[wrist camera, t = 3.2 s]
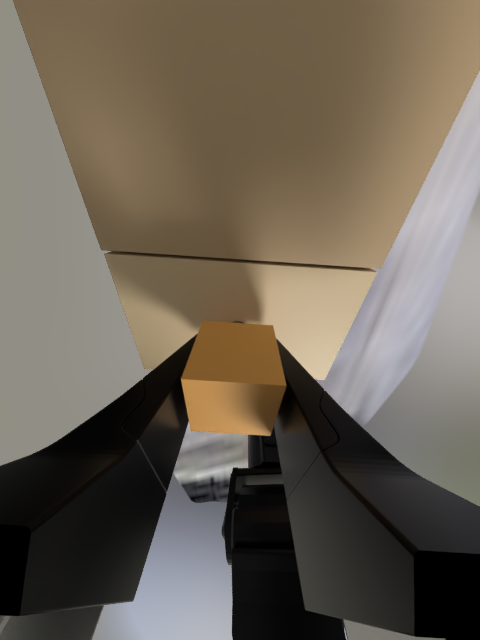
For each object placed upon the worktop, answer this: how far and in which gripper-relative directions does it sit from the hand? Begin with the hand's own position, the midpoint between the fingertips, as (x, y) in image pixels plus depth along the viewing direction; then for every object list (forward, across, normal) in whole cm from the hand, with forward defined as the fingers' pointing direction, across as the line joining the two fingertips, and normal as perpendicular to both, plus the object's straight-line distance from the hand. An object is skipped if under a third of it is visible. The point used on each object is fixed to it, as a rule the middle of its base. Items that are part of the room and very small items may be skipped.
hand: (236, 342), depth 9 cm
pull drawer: (+2, 0, 0) cm, 2 cm away
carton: (+7, 0, -4) cm, 8 cm away
